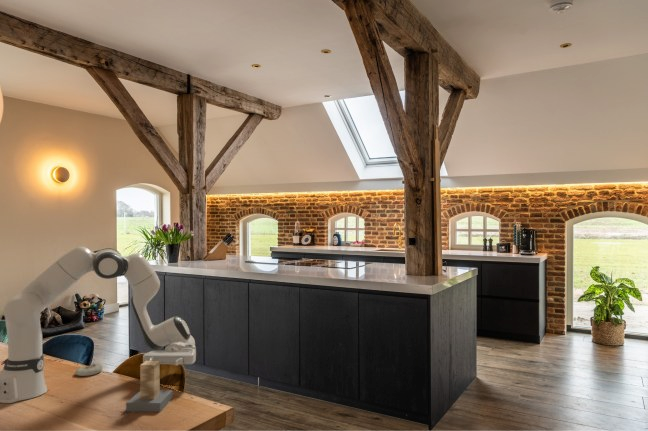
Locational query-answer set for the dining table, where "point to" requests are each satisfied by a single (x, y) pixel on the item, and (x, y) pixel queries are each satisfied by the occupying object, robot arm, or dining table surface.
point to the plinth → (149, 402)
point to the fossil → (89, 370)
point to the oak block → (149, 379)
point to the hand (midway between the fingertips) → (162, 363)
